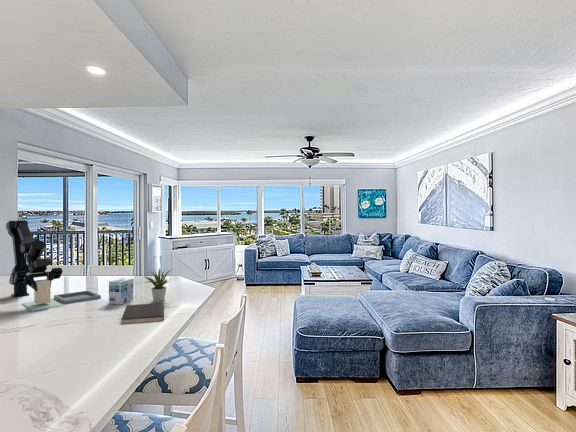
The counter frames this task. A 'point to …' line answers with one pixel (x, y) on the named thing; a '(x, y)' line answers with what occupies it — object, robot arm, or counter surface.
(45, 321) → the counter surface
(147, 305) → the hardcover book
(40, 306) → the mat
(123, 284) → the light bulb box
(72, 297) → the parts tray
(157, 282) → the house plant
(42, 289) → the carton
